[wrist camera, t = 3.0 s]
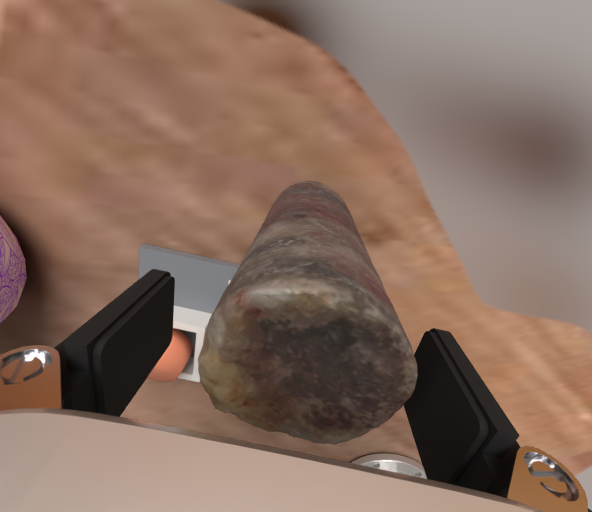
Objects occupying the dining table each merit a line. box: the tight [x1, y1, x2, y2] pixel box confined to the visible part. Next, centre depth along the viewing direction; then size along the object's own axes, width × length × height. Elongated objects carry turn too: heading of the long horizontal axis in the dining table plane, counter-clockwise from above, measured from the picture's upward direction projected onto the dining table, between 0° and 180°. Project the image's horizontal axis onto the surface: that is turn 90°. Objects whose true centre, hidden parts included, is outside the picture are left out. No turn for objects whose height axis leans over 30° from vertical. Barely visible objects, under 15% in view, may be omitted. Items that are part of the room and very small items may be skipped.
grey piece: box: [139, 244, 240, 382], centre depth 31 cm, size 20×14×4 cm
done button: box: [148, 328, 193, 382], centre depth 29 cm, size 5×5×2 cm
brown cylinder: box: [198, 181, 417, 444], centre depth 18 cm, size 8×7×20 cm
